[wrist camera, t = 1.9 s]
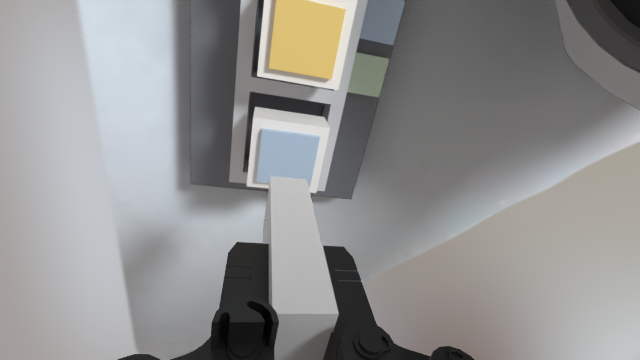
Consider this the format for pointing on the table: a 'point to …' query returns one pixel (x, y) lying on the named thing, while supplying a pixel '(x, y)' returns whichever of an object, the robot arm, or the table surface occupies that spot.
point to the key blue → (286, 147)
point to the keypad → (280, 92)
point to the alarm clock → (604, 43)
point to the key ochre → (305, 40)
